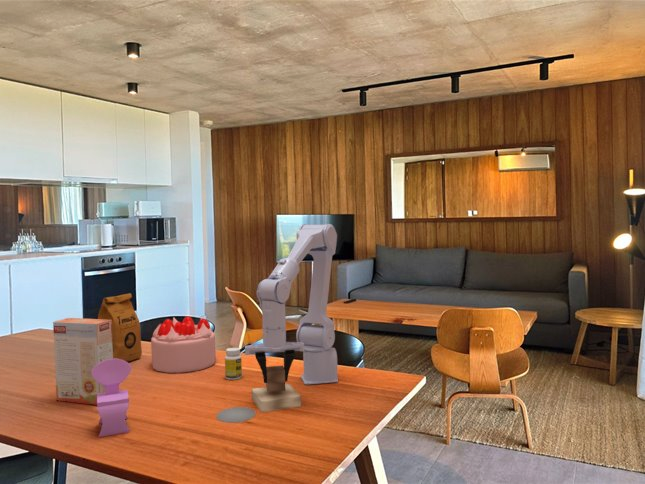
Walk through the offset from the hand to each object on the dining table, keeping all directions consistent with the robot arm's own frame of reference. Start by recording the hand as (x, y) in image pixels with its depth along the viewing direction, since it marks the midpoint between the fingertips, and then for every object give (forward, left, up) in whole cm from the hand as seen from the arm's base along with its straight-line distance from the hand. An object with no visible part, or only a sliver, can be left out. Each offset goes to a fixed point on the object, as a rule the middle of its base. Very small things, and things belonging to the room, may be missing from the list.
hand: (275, 381), depth 129 cm
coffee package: (+46, -50, -6) cm, 68 cm away
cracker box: (+48, -14, -6) cm, 50 cm away
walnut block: (0, 0, -2) cm, 2 cm away
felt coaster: (+10, +6, -6) cm, 13 cm away
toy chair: (+37, +7, -6) cm, 38 cm away
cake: (+25, -41, -6) cm, 48 cm away
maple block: (0, 0, -6) cm, 6 cm away
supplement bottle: (+10, -23, -6) cm, 26 cm away
